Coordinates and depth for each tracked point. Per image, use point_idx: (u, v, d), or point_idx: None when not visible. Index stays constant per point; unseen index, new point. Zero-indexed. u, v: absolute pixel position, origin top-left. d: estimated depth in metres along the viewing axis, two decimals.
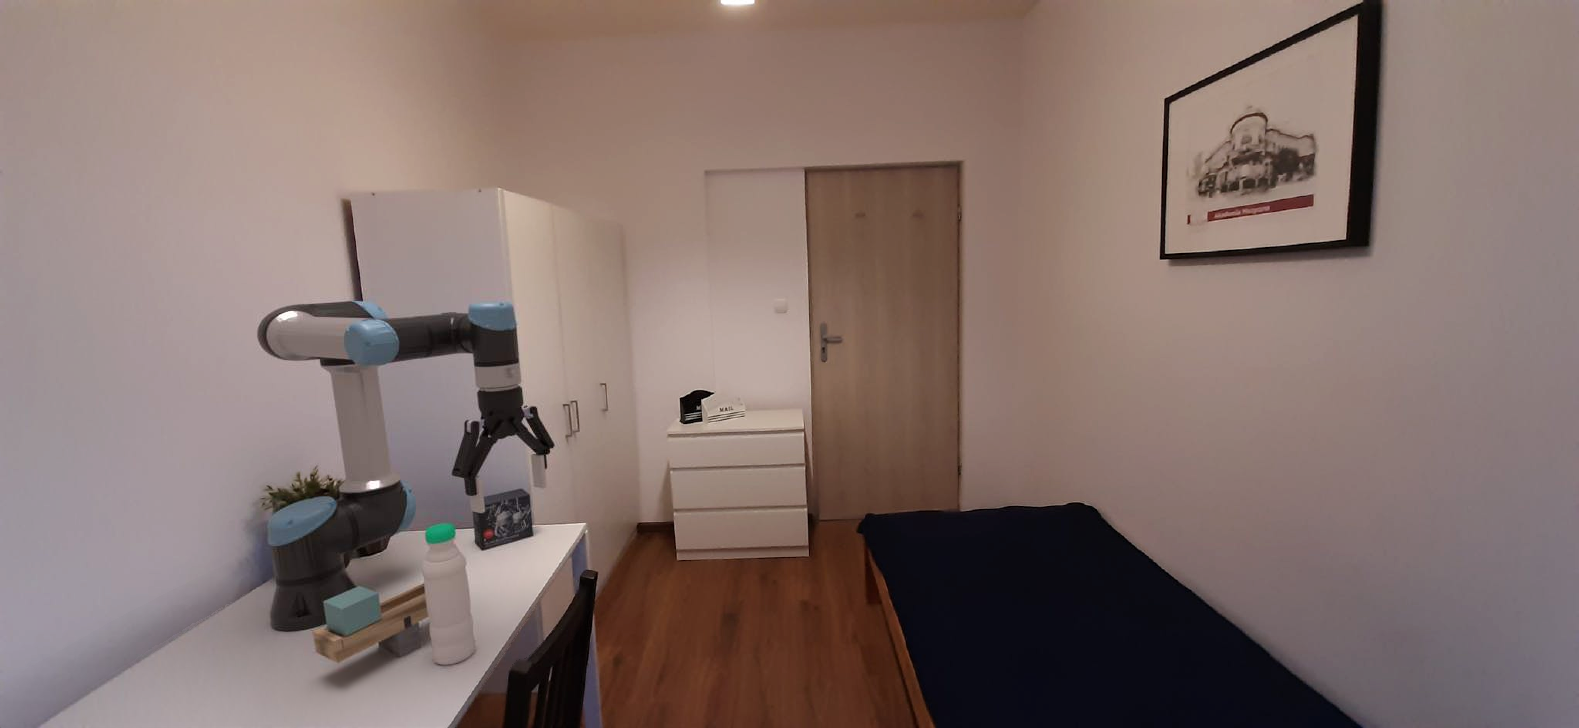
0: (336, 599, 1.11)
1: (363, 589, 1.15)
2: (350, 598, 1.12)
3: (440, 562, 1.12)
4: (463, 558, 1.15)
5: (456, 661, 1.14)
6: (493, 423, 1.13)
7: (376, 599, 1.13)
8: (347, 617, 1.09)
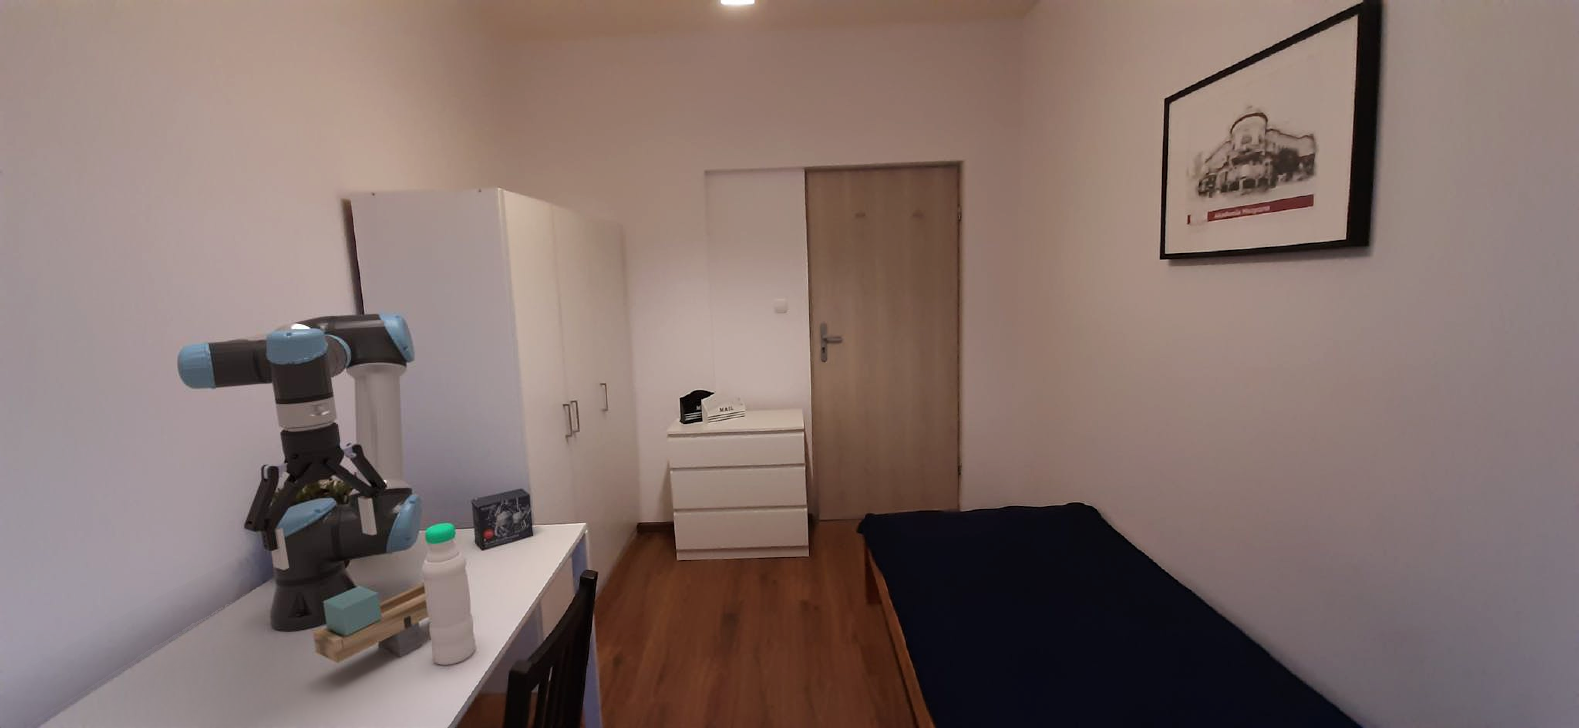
0: (336, 599, 1.11)
1: (363, 589, 1.15)
2: (350, 598, 1.12)
3: (440, 562, 1.12)
4: (463, 558, 1.15)
5: (456, 661, 1.14)
6: (299, 467, 1.00)
7: (376, 599, 1.13)
8: (347, 617, 1.09)
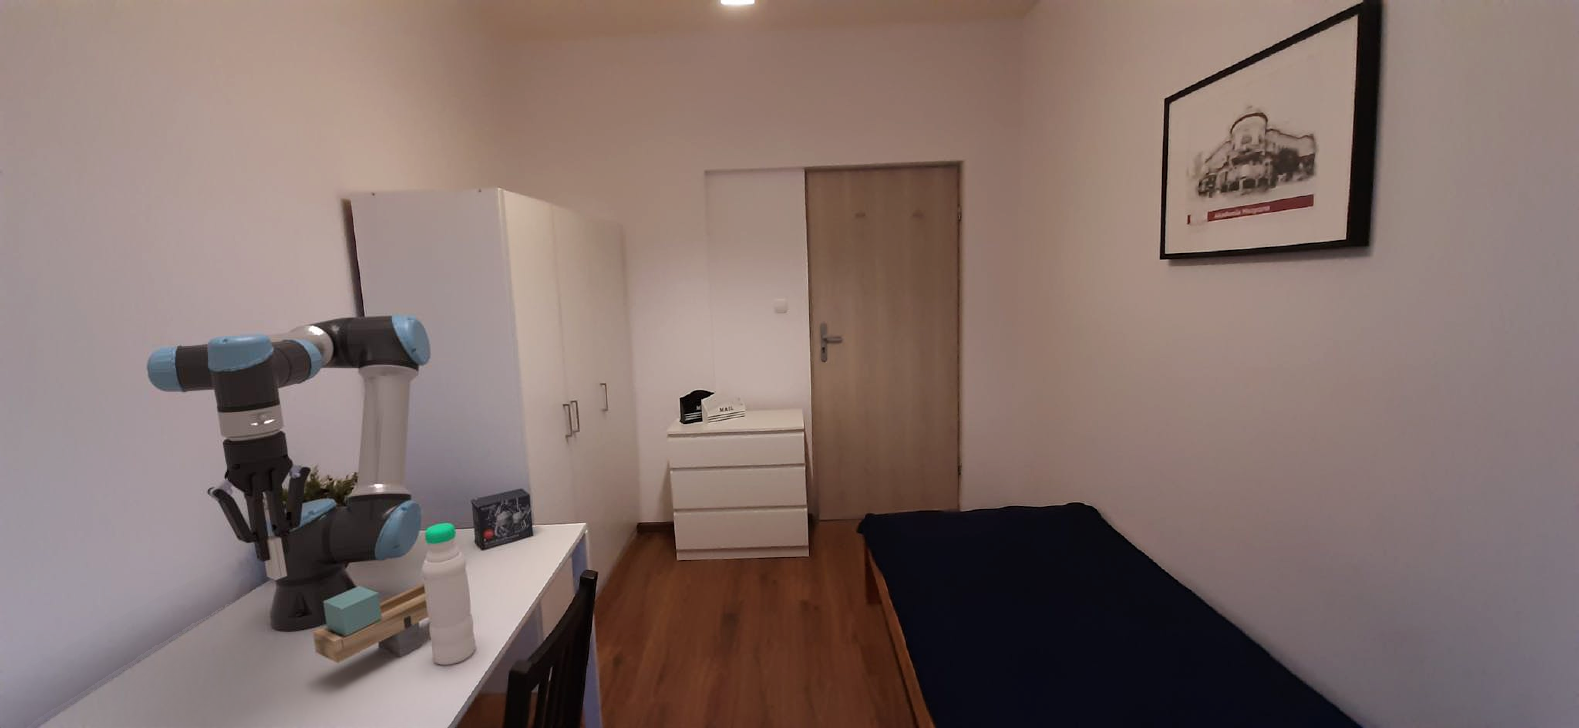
0: (336, 599, 1.11)
1: (363, 589, 1.15)
2: (350, 598, 1.12)
3: (440, 562, 1.12)
4: (463, 558, 1.15)
5: (456, 661, 1.14)
6: (242, 476, 0.97)
7: (376, 599, 1.13)
8: (347, 617, 1.09)
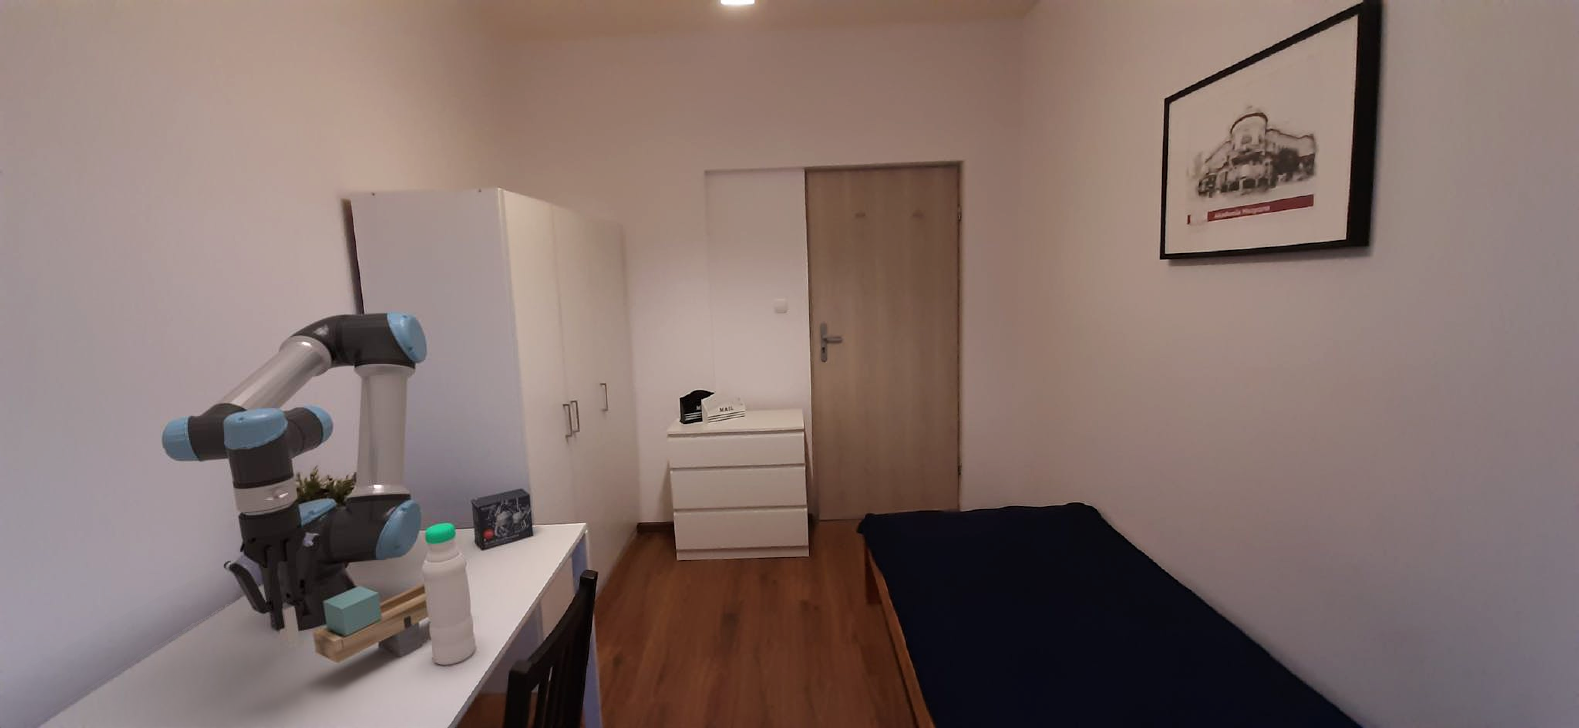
0: (336, 599, 1.11)
1: (363, 589, 1.15)
2: (350, 598, 1.12)
3: (440, 562, 1.12)
4: (463, 558, 1.15)
5: (456, 661, 1.14)
6: (257, 549, 0.99)
7: (376, 599, 1.13)
8: (347, 617, 1.09)
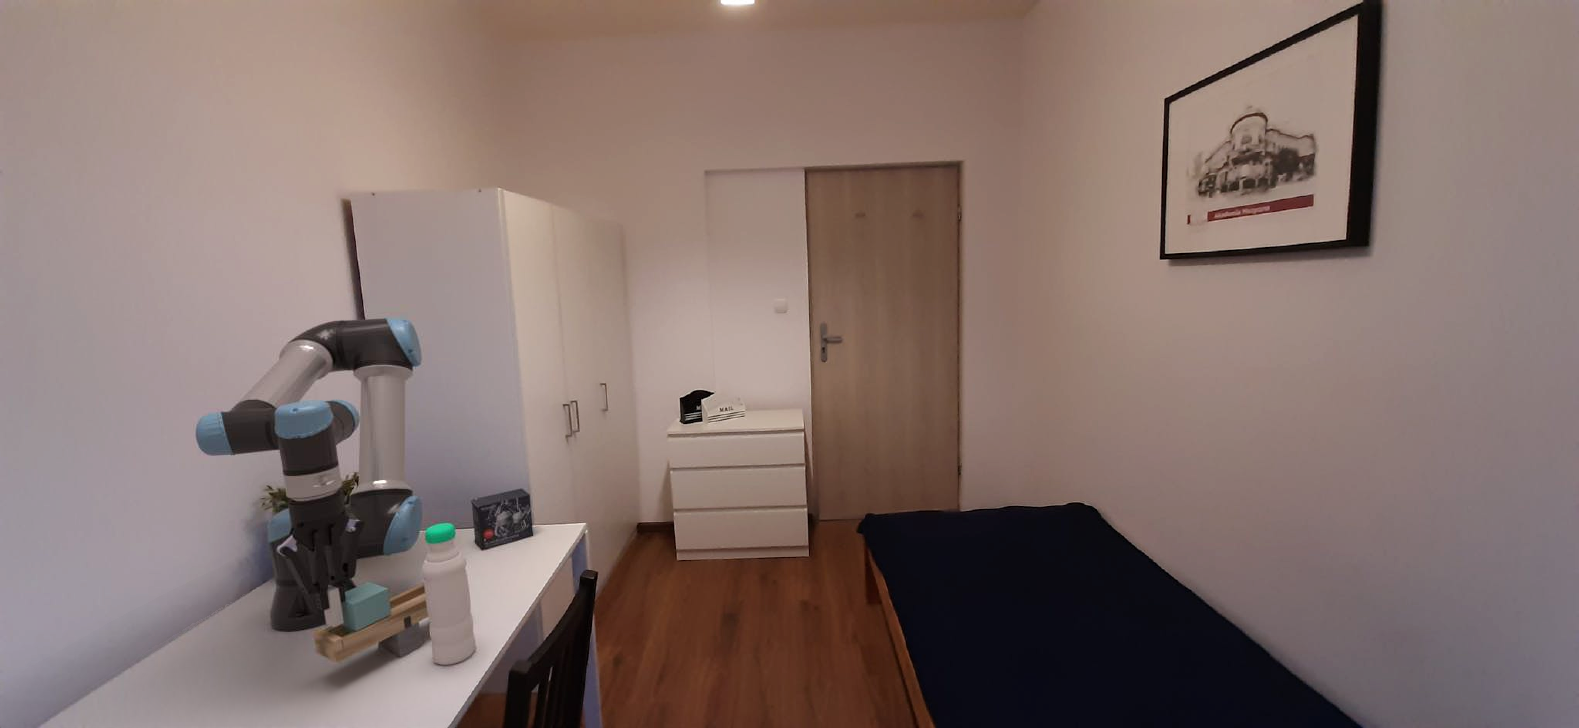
0: (346, 595, 1.13)
1: (373, 585, 1.16)
2: (360, 594, 1.13)
3: (440, 562, 1.12)
4: (463, 558, 1.15)
5: (456, 661, 1.14)
6: (305, 533, 1.05)
7: (386, 595, 1.15)
8: (357, 612, 1.10)
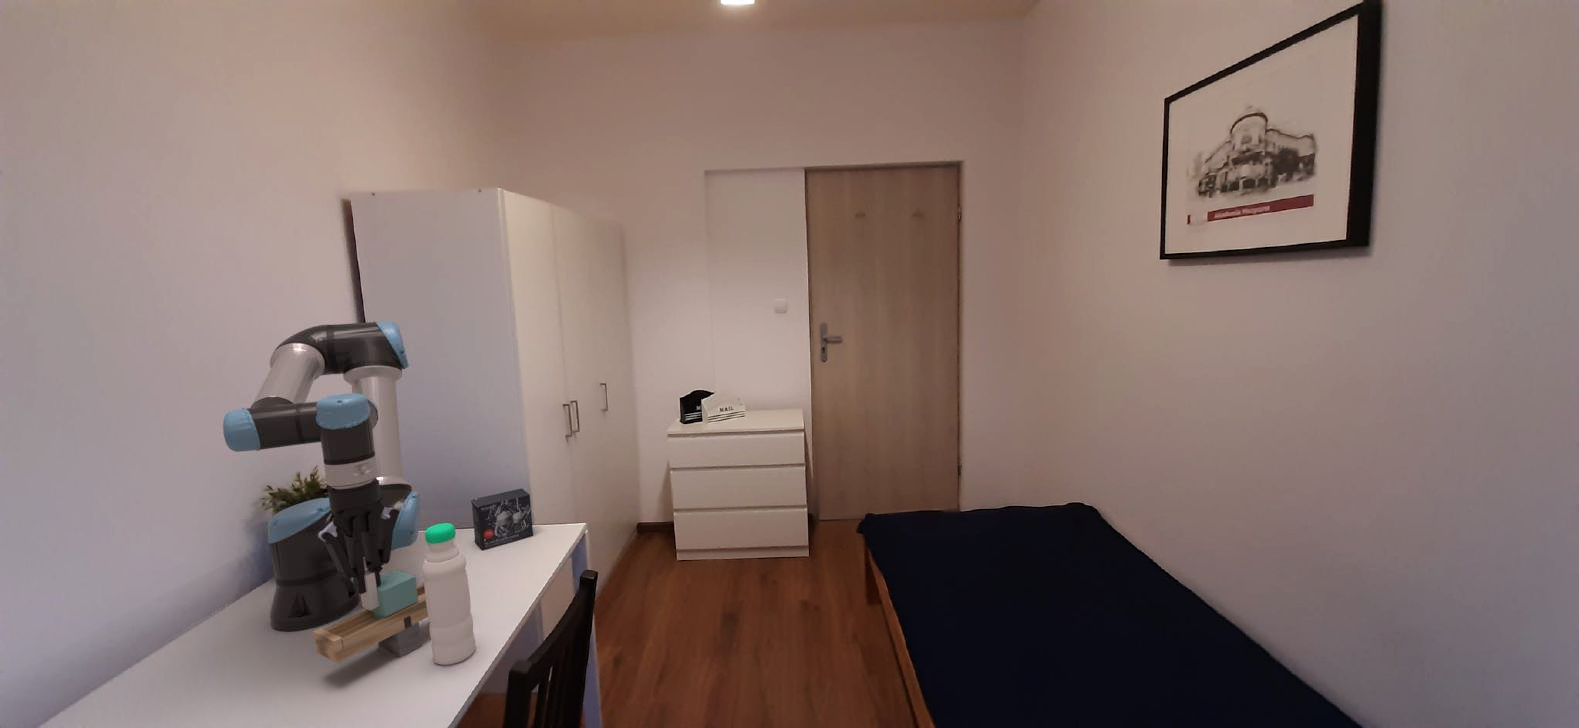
0: None
1: (400, 573, 1.21)
2: (388, 582, 1.17)
3: (440, 562, 1.12)
4: (463, 558, 1.15)
5: (456, 661, 1.14)
6: (344, 519, 1.10)
7: (413, 582, 1.19)
8: (386, 599, 1.15)
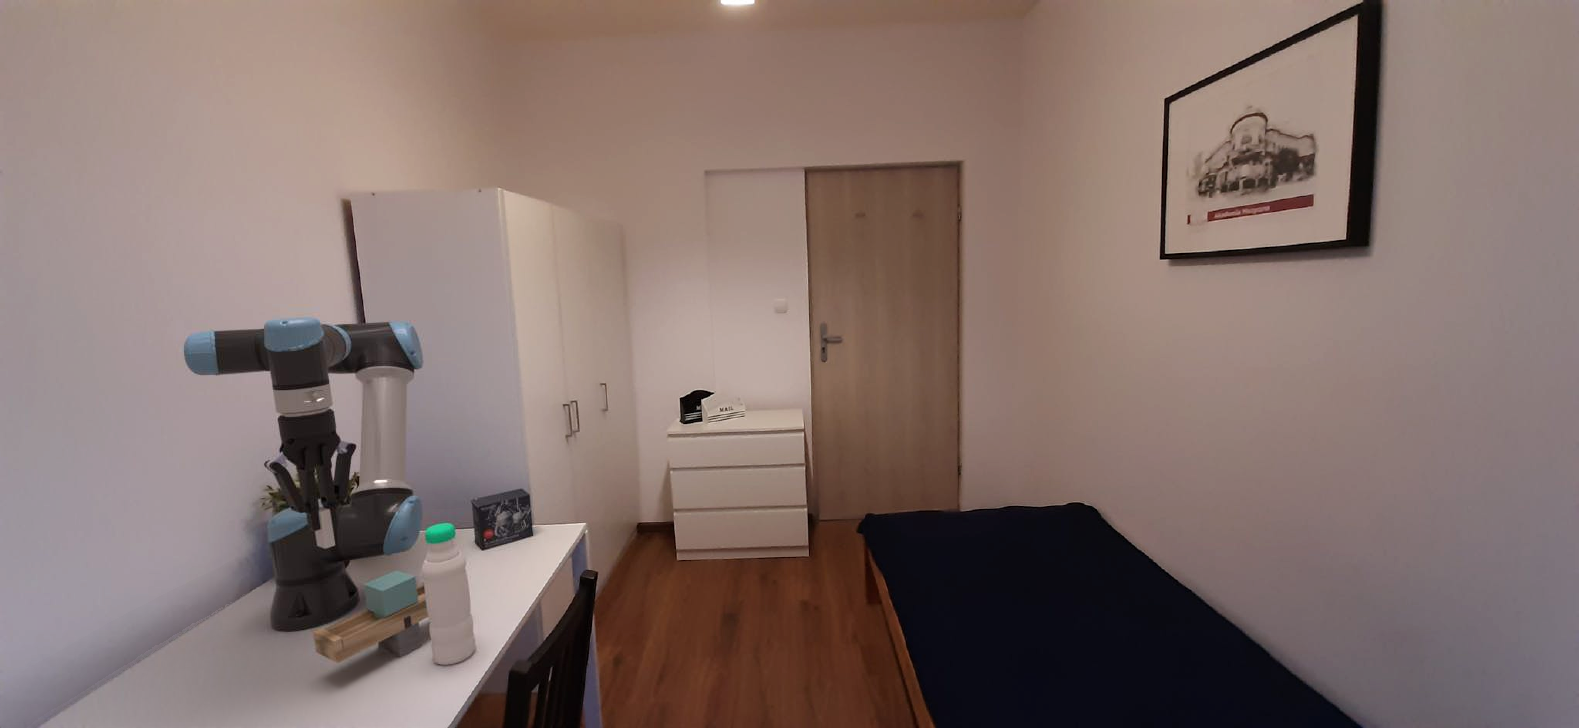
0: (376, 582, 1.17)
1: (400, 573, 1.21)
2: (389, 581, 1.17)
3: (440, 562, 1.12)
4: (463, 558, 1.15)
5: (456, 661, 1.14)
6: (295, 450, 1.03)
7: (413, 582, 1.19)
8: (387, 599, 1.15)
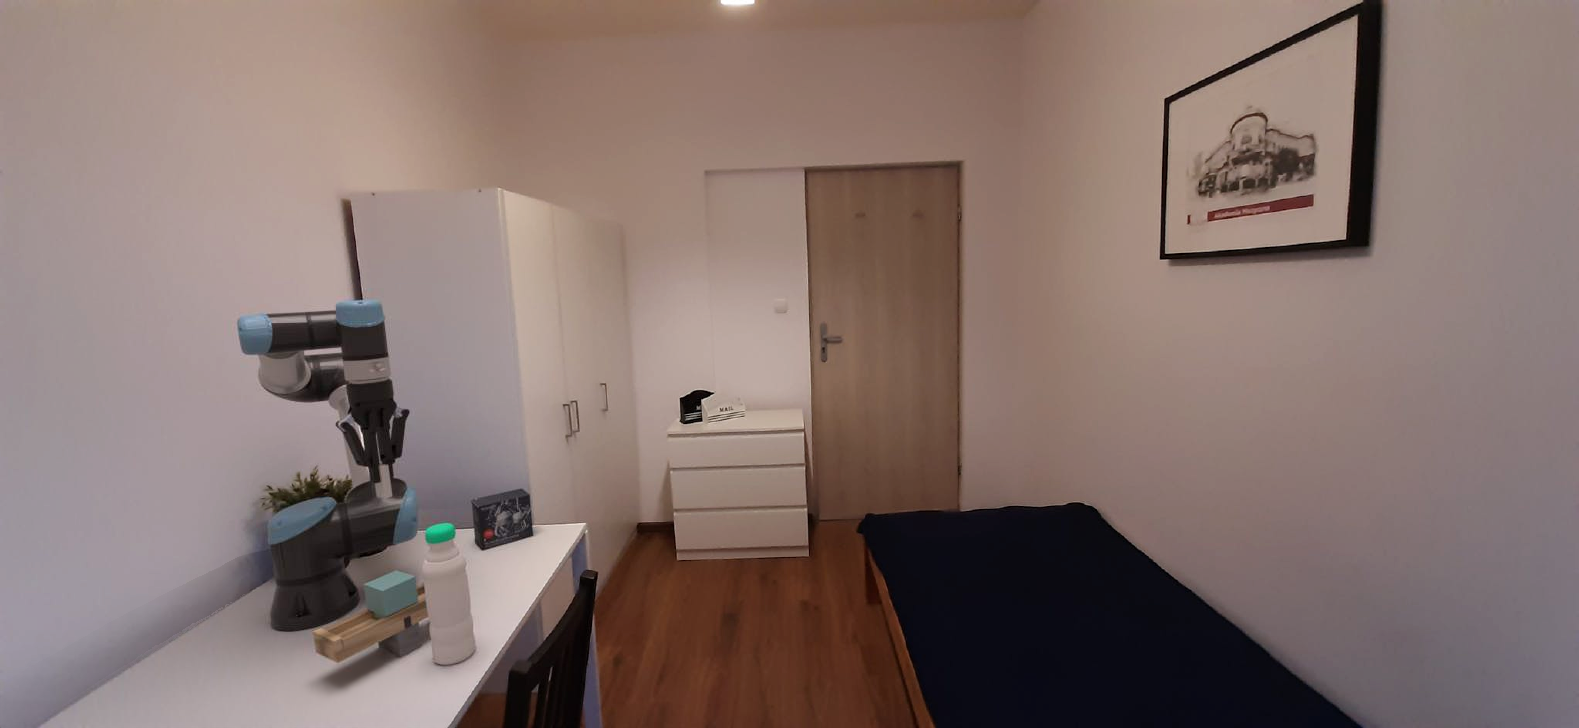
0: (376, 582, 1.17)
1: (400, 573, 1.21)
2: (389, 581, 1.17)
3: (440, 562, 1.12)
4: (463, 558, 1.15)
5: (456, 661, 1.14)
6: (361, 412, 1.21)
7: (413, 582, 1.19)
8: (387, 599, 1.15)
